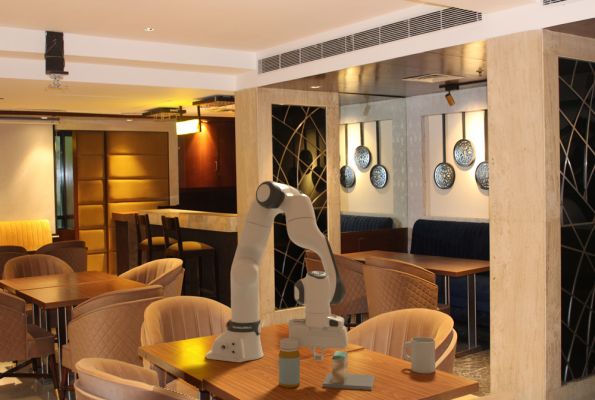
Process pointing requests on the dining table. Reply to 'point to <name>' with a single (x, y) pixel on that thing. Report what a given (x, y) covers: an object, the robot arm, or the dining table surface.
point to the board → (351, 382)
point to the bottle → (289, 363)
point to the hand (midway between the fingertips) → (318, 360)
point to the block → (339, 367)
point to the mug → (421, 354)
